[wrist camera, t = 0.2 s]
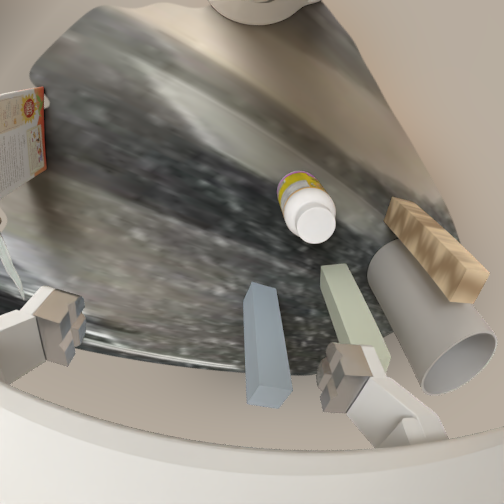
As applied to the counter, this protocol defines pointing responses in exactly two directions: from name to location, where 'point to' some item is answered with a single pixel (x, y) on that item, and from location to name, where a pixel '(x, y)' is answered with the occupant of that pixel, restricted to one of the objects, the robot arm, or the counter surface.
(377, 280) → the cylinder vase
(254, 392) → the post slate
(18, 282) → the knife
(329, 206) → the supplement bottle
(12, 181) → the cracker box
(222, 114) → the counter surface
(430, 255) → the post oak
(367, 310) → the post sage
